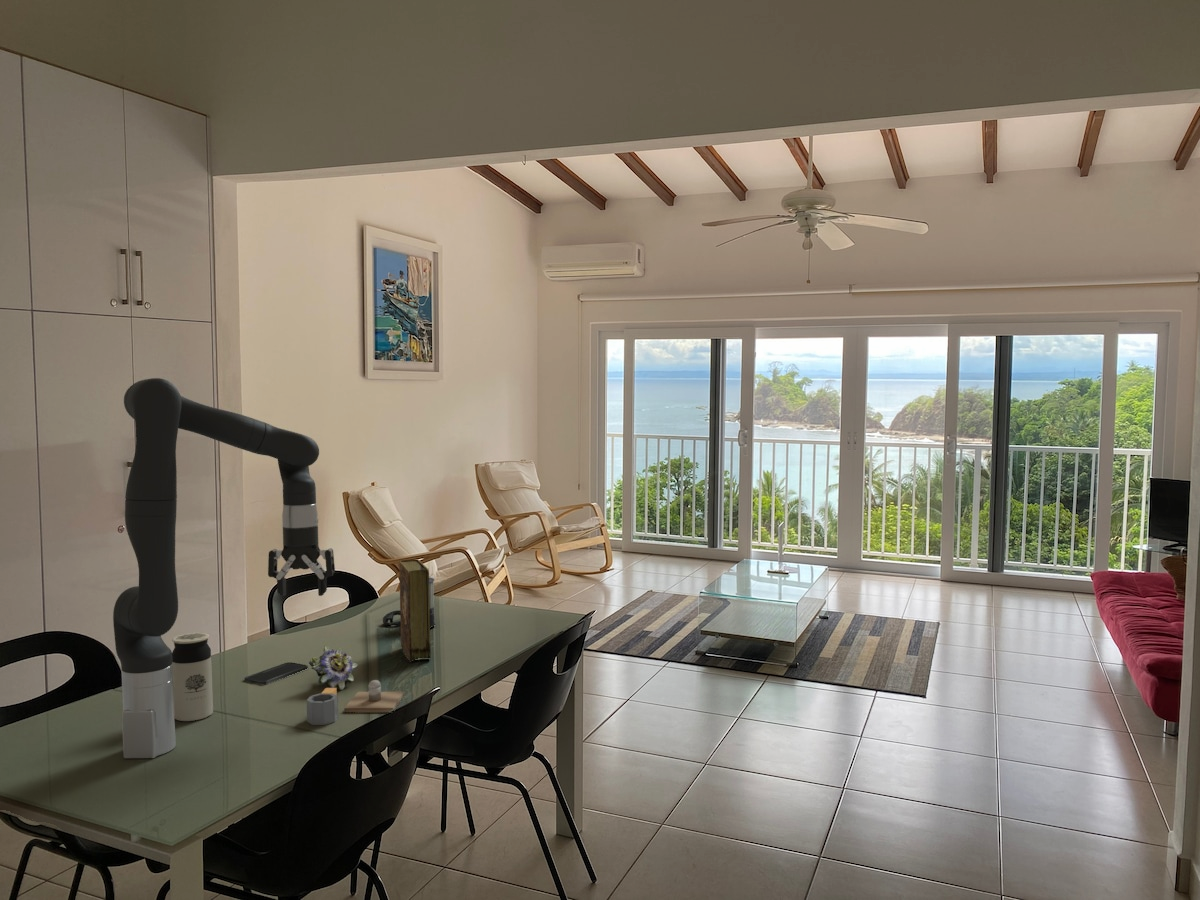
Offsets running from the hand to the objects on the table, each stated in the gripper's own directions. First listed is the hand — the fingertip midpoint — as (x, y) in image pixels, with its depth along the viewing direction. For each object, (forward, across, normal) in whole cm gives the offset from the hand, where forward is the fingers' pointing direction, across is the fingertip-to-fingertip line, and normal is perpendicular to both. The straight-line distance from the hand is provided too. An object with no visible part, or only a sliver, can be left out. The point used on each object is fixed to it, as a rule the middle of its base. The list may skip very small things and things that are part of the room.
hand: (302, 595), depth 200 cm
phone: (+27, -16, +27) cm, 41 cm away
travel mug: (+27, -24, -2) cm, 36 cm away
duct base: (+27, +15, +4) cm, 31 cm away
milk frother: (+27, +9, +73) cm, 78 cm away
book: (+27, +17, +43) cm, 53 cm away
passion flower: (+27, +1, +17) cm, 32 cm away
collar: (+27, +6, -4) cm, 28 cm away
